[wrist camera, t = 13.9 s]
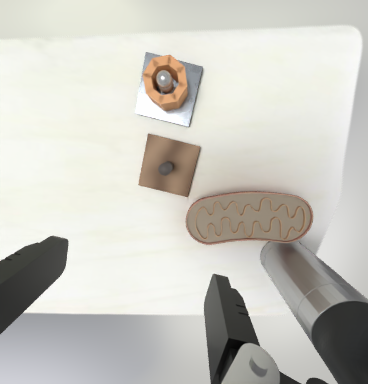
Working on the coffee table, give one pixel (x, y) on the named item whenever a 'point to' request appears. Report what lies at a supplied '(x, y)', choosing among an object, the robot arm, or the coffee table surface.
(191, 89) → the silver peg on base
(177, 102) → the collar
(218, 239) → the anatomical model
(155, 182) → the stand
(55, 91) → the coffee table surface
